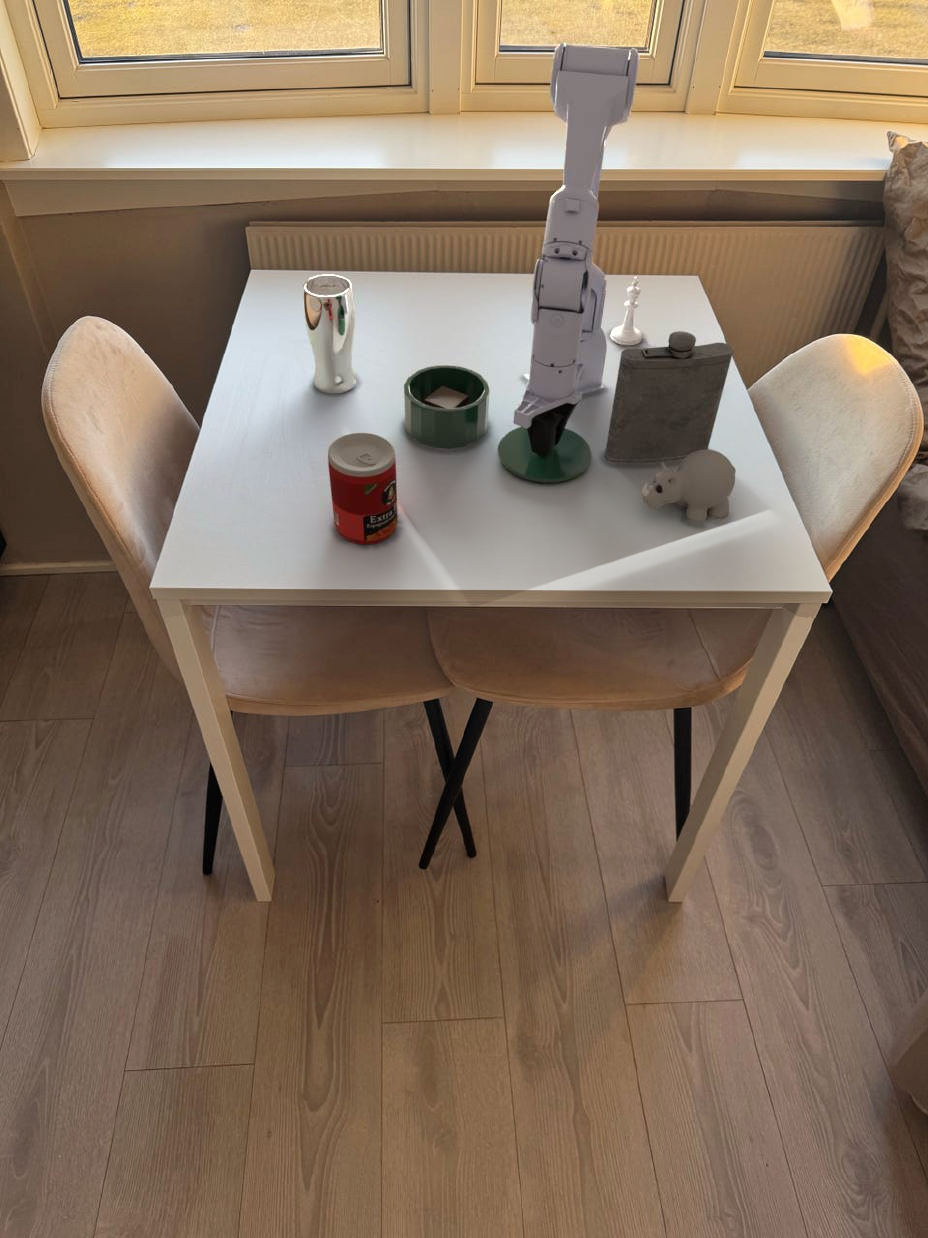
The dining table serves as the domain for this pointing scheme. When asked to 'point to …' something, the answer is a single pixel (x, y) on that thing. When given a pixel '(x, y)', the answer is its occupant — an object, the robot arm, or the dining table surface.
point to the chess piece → (628, 320)
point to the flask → (666, 400)
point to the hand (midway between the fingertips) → (544, 447)
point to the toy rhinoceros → (694, 485)
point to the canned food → (363, 487)
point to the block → (446, 398)
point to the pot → (446, 423)
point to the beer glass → (330, 331)
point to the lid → (553, 467)
